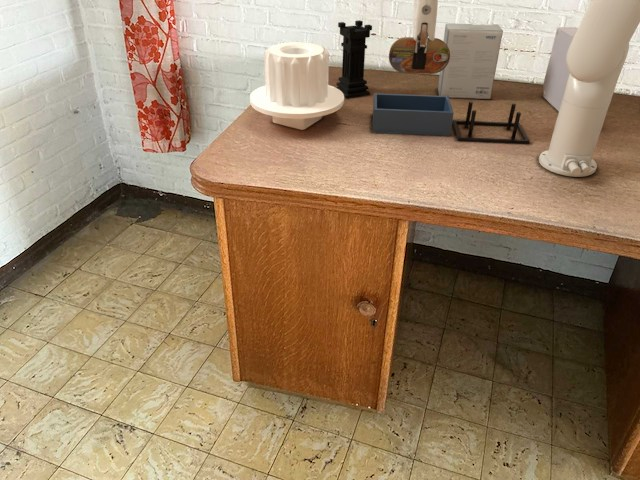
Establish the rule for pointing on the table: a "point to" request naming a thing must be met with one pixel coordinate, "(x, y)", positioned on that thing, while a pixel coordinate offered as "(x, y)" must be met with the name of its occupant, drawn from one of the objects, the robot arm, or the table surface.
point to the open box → (412, 114)
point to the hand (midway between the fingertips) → (417, 66)
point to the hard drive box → (470, 60)
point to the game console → (558, 67)
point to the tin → (405, 48)
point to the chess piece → (353, 59)
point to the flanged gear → (296, 85)
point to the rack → (509, 124)
